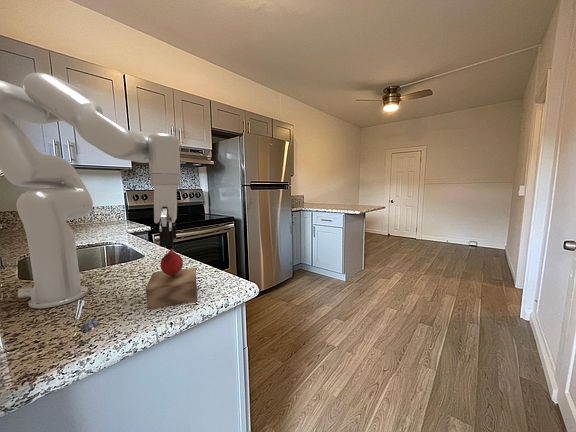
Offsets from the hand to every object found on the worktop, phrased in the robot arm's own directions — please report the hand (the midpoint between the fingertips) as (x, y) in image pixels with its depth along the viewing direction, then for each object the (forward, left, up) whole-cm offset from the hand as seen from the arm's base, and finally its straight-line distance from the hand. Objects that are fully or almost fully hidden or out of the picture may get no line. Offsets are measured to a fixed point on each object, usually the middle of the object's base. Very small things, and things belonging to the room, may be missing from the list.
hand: (168, 242), depth 69 cm
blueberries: (-17, -10, -17) cm, 26 cm away
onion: (0, 0, -10) cm, 10 cm away
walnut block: (+1, 0, -16) cm, 16 cm away
